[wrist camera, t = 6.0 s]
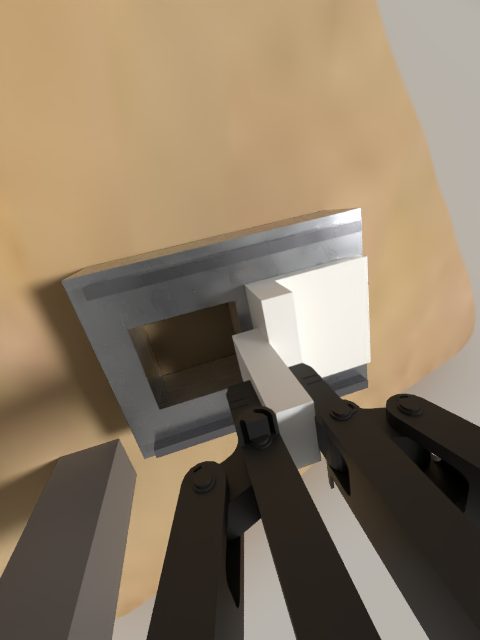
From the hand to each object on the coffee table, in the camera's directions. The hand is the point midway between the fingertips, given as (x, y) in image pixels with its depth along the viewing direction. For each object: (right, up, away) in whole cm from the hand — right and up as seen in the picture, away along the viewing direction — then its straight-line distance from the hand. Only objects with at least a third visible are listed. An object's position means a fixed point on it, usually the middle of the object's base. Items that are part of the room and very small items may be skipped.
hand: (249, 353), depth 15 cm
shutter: (+4, +2, +2) cm, 4 cm away
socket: (-2, +2, +5) cm, 5 cm away
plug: (-12, -10, +7) cm, 17 cm away
